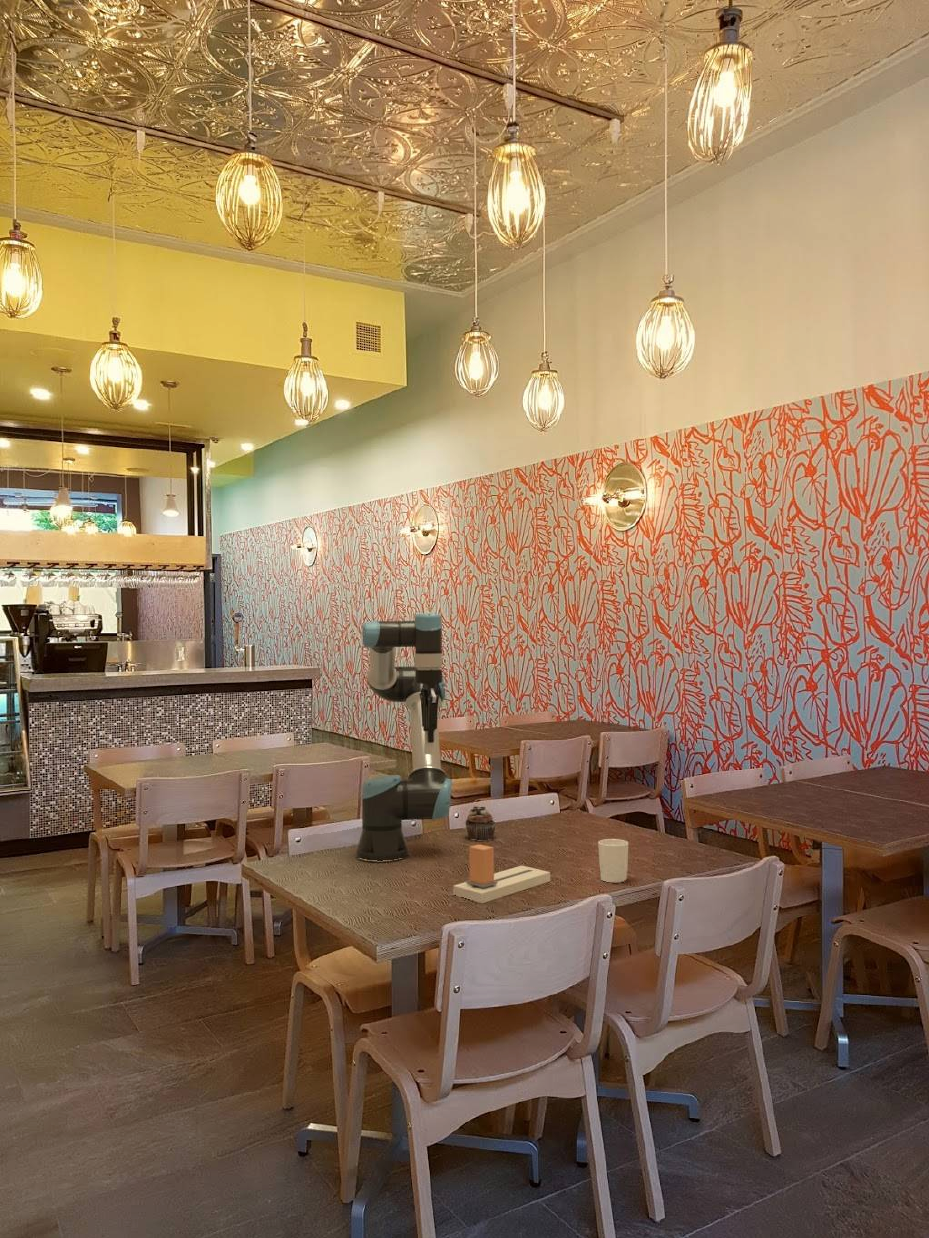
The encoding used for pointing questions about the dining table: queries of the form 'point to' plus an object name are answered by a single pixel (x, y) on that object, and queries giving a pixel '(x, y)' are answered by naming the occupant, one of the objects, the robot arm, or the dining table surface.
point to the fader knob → (481, 866)
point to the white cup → (613, 859)
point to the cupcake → (480, 824)
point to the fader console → (503, 884)
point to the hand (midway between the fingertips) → (429, 753)
